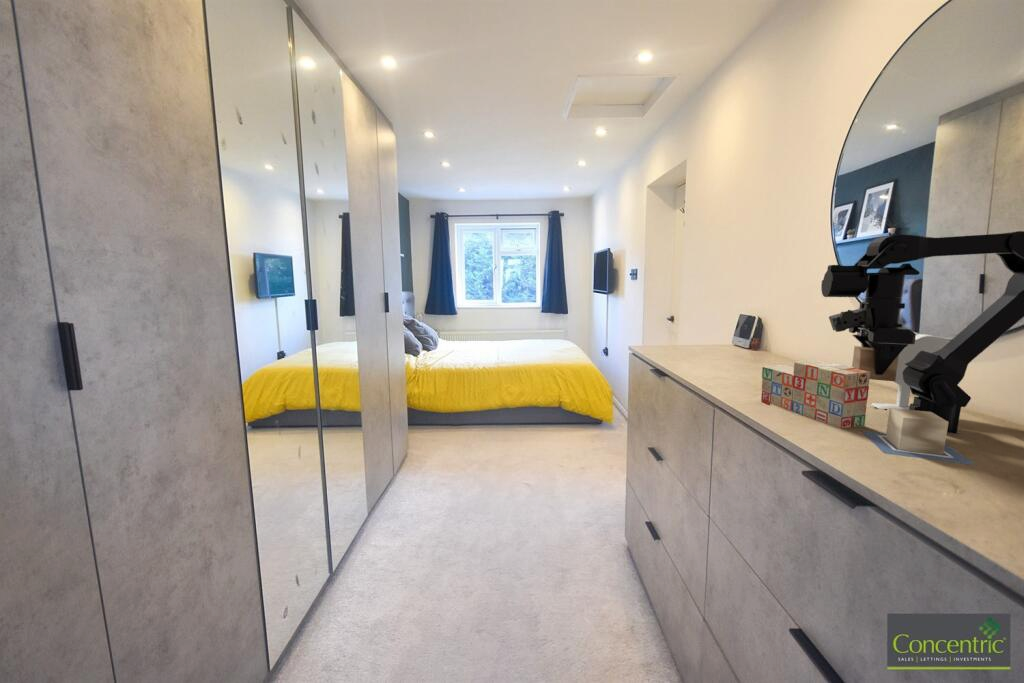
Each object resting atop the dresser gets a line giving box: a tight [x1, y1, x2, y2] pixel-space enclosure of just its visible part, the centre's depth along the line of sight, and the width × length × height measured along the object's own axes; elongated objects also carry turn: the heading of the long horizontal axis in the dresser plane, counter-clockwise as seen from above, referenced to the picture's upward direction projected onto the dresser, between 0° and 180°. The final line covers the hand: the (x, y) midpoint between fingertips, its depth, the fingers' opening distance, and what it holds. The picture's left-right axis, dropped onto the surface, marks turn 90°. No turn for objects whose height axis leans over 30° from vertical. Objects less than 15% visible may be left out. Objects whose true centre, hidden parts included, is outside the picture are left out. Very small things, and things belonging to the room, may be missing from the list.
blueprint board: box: [860, 430, 977, 466], centre depth 77 cm, size 12×12×1 cm
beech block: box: [885, 408, 948, 455], centre depth 76 cm, size 6×6×6 cm
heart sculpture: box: [871, 333, 951, 410], centre depth 99 cm, size 16×5×18 cm, turn 67°
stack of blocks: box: [761, 359, 871, 429], centre depth 96 cm, size 21×6×12 cm, turn 12°
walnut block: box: [851, 345, 899, 382], centre depth 89 cm, size 6×6×6 cm
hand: (873, 371), depth 89 cm, fingers closed on walnut block, 6 cm apart
